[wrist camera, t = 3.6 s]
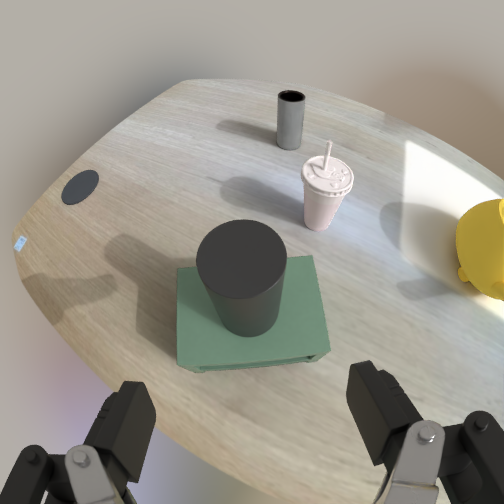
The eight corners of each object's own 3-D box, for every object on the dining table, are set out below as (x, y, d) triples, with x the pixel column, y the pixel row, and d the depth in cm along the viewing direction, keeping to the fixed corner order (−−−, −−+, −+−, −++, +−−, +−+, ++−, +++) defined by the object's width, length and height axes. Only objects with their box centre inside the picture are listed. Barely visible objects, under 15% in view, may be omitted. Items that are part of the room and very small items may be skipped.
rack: (194, 372, 29) (176, 365, 23) (192, 293, 34) (177, 268, 28) (317, 361, 29) (331, 350, 23) (303, 282, 34) (312, 255, 28)
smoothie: (308, 197, 41) (321, 120, 29) (345, 217, 39) (370, 143, 27) (286, 224, 39) (293, 145, 27) (325, 247, 37) (349, 171, 25)
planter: (274, 136, 49) (275, 90, 41) (297, 135, 50) (301, 89, 41) (279, 151, 47) (280, 102, 38) (303, 149, 47) (308, 101, 38)
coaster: (60, 211, 43) (59, 210, 43) (65, 181, 47) (64, 180, 47) (97, 194, 44) (97, 192, 44) (99, 165, 49) (99, 163, 48)
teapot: (503, 345, 27) (563, 313, 15) (436, 316, 31) (498, 269, 19) (504, 246, 35) (543, 202, 23) (445, 213, 39) (481, 157, 27)
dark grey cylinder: (230, 346, 24) (210, 312, 15) (211, 292, 27) (187, 234, 18) (288, 324, 25) (302, 279, 16) (265, 273, 27) (266, 209, 19)
